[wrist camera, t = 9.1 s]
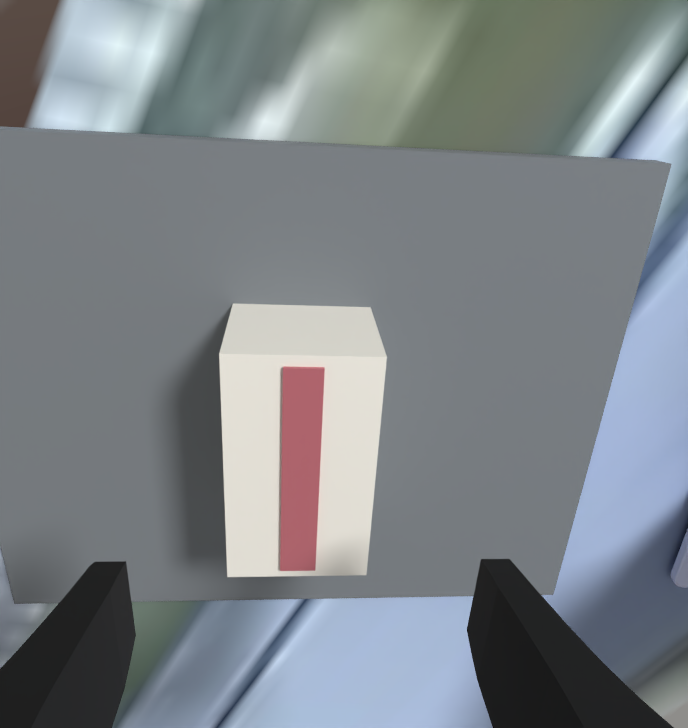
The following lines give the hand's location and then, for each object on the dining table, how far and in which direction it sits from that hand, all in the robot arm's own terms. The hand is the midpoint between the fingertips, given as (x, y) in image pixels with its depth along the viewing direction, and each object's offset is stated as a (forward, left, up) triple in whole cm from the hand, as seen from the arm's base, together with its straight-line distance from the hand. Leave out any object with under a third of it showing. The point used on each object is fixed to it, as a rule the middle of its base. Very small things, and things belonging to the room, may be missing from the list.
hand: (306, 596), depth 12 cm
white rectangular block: (0, 0, -8) cm, 8 cm away
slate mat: (0, 0, -8) cm, 8 cm away
